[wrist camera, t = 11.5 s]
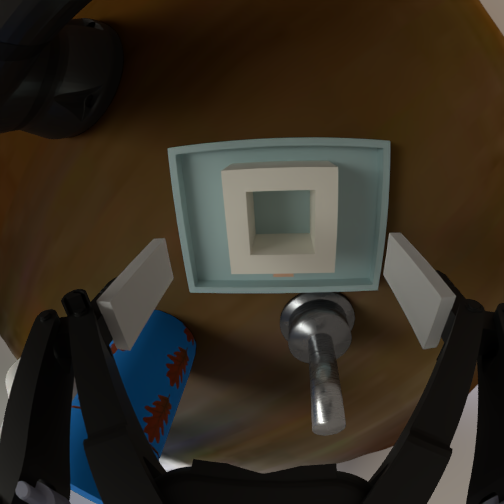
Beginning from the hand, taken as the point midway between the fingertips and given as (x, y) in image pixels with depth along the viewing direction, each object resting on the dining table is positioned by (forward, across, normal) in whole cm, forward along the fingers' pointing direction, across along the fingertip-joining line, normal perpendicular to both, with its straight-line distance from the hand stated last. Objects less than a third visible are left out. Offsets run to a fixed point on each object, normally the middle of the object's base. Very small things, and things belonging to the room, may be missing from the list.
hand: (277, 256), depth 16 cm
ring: (+12, 0, -1) cm, 12 cm away
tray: (+12, 0, -2) cm, 13 cm away
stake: (+12, +4, -15) cm, 20 cm away
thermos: (+12, -17, -19) cm, 28 cm away
